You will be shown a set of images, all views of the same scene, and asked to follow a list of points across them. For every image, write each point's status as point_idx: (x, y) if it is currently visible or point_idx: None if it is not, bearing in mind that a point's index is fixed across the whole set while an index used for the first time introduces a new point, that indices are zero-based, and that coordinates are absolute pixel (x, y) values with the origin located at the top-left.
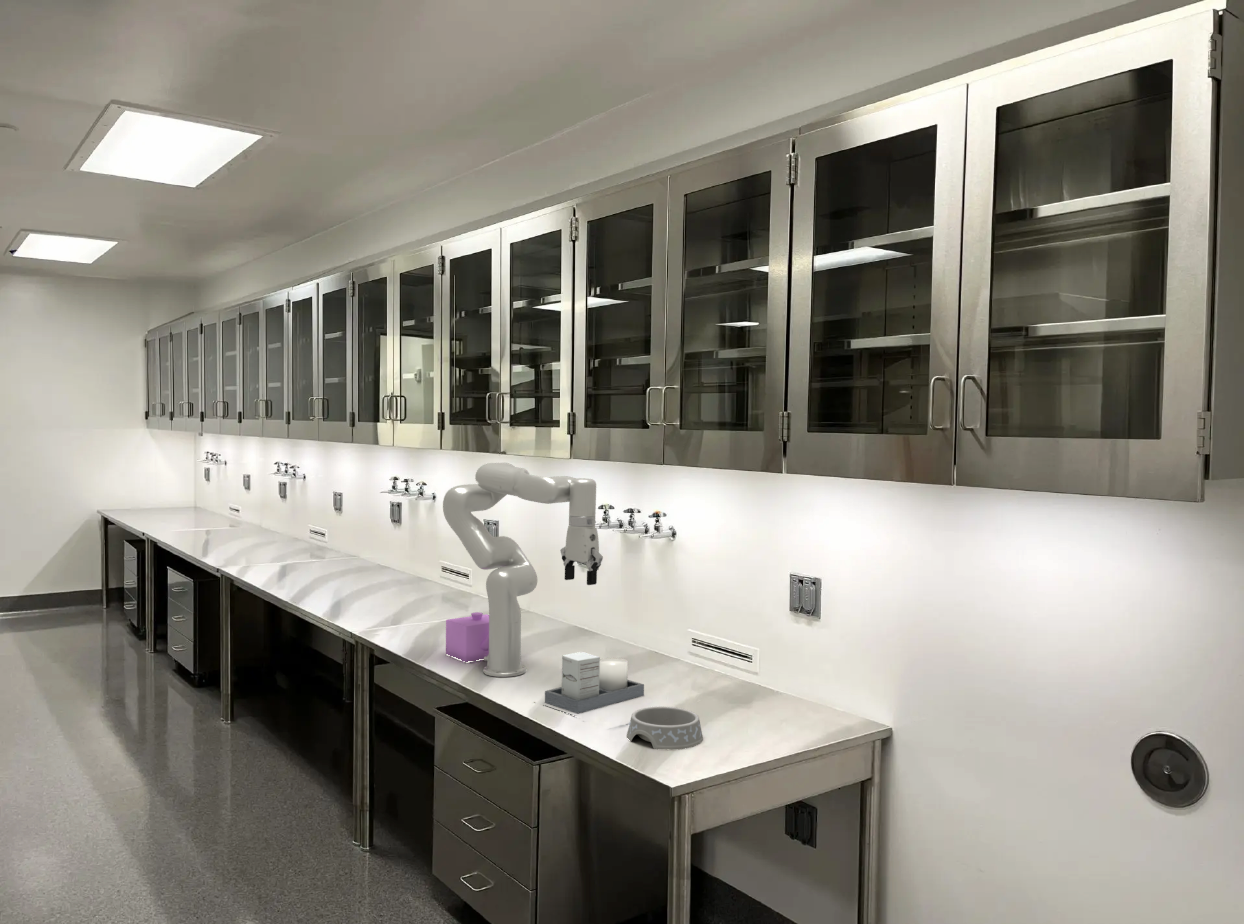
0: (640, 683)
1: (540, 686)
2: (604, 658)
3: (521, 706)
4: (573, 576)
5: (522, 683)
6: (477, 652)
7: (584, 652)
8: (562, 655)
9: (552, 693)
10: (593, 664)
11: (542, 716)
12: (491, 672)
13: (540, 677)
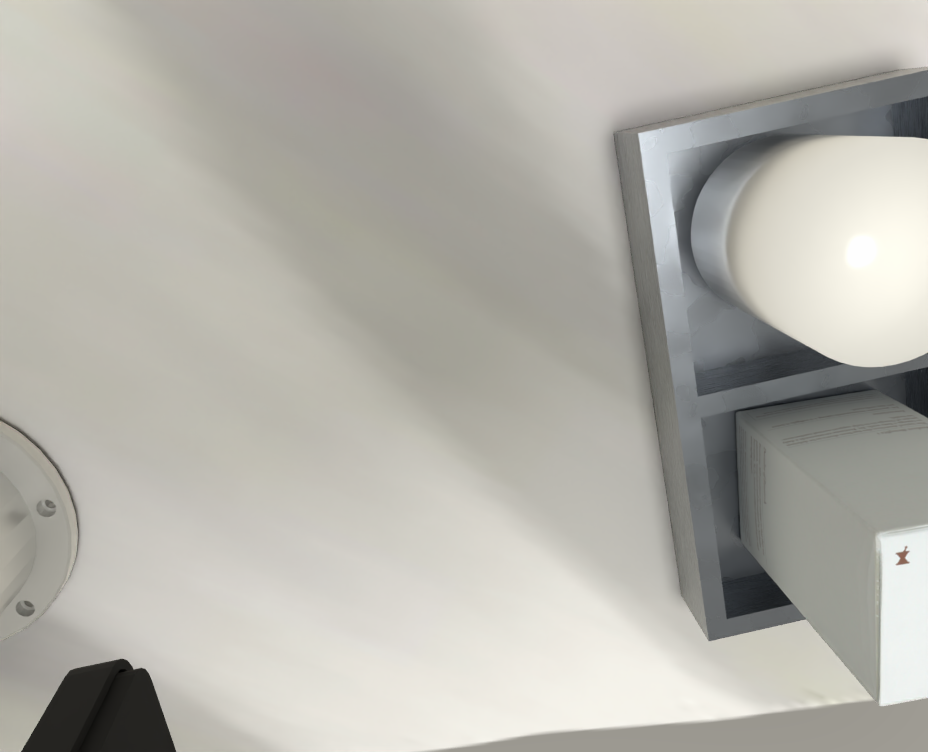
0: (925, 71)
1: (345, 469)
2: (780, 267)
3: (621, 684)
4: (129, 728)
5: (238, 529)
6: None
7: (915, 542)
8: (881, 705)
9: (770, 626)
10: None
11: (806, 663)
12: (8, 635)
13: (157, 386)
